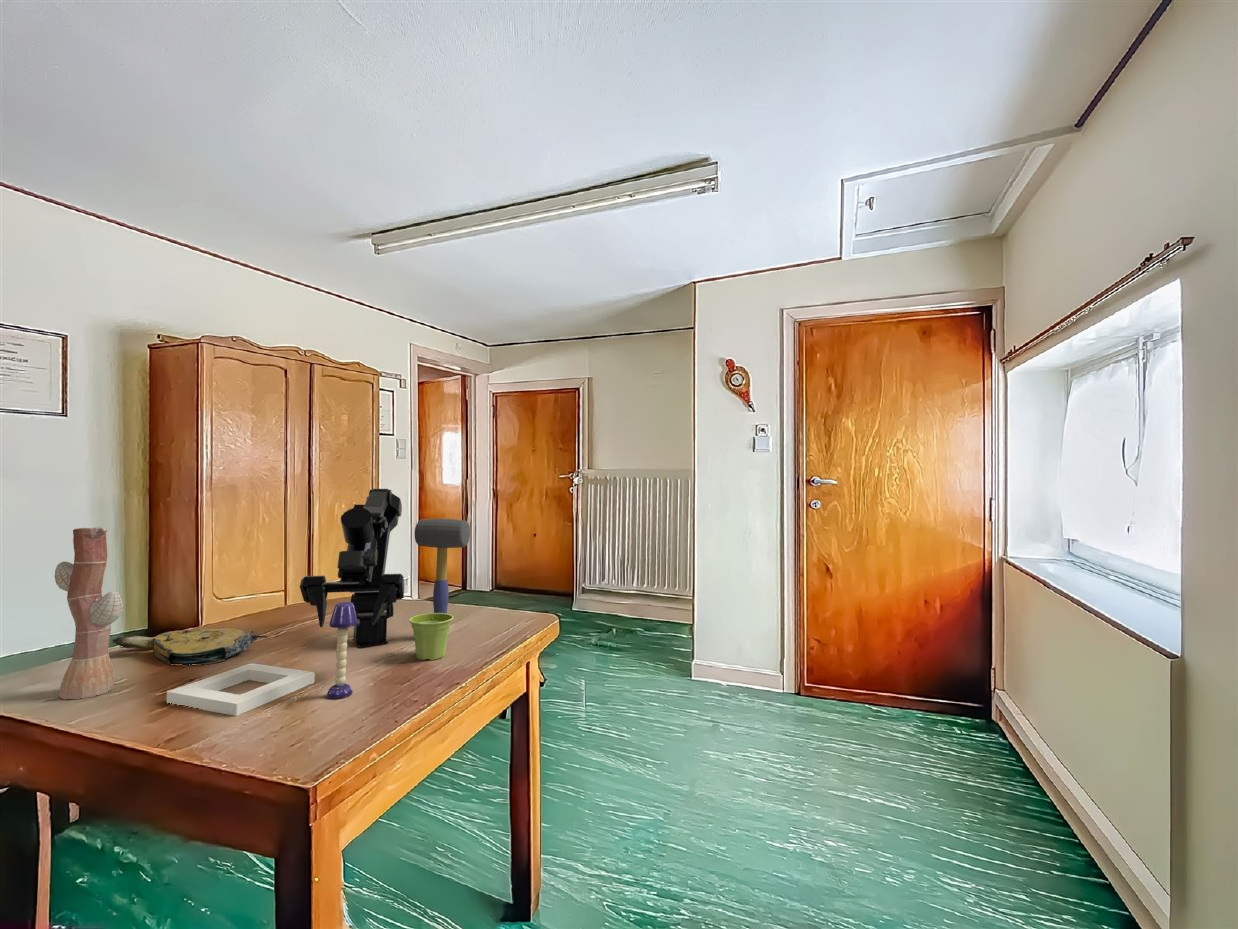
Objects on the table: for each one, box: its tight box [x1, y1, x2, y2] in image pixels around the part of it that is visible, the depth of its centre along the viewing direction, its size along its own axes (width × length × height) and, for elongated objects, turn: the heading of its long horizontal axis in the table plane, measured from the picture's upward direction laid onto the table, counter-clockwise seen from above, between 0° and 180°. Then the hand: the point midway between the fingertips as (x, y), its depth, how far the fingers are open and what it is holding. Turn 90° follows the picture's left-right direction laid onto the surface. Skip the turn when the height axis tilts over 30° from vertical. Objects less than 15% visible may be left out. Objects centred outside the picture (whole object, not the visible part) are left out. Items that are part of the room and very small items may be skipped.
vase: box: [53, 526, 124, 700], centre depth 101 cm, size 10×7×30 cm
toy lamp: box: [326, 601, 357, 700], centre depth 102 cm, size 5×5×17 cm
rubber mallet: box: [414, 518, 471, 614], centre depth 140 cm, size 12×8×30 cm, turn 85°
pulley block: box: [112, 628, 268, 666], centre depth 122 cm, size 14×6×30 cm
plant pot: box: [408, 612, 454, 661], centre depth 125 cm, size 9×9×9 cm
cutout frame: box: [166, 662, 315, 717], centre depth 102 cm, size 16×16×2 cm
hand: (347, 624), depth 106 cm, fingers open, 9 cm apart
